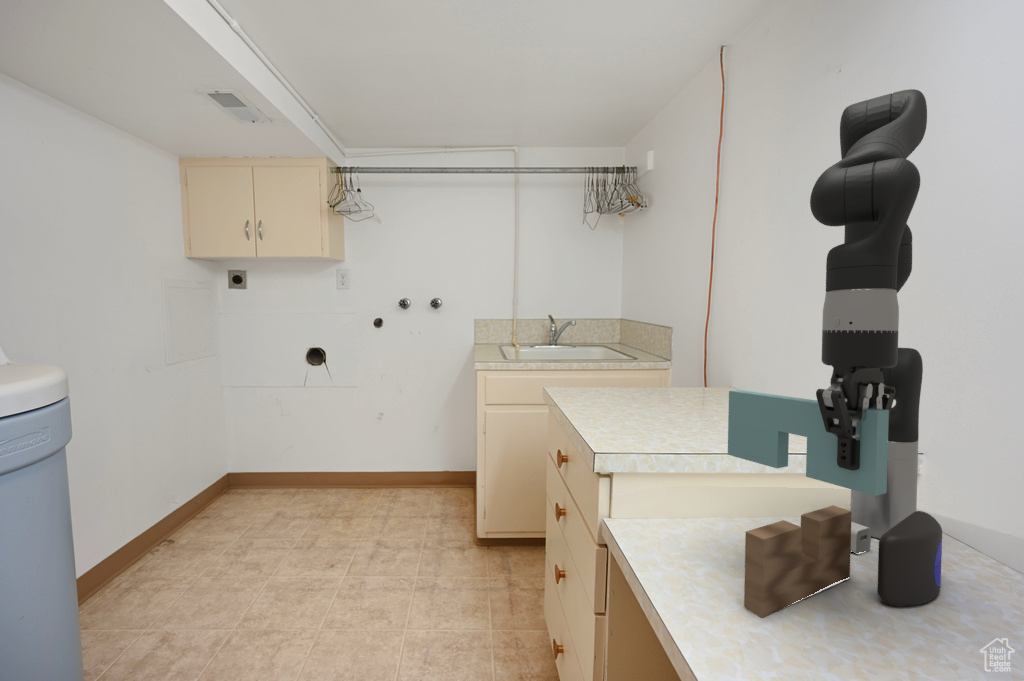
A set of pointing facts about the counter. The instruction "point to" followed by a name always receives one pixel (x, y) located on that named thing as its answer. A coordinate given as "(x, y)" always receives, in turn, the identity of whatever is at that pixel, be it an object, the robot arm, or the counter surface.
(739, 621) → the counter surface
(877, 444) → the teal plate
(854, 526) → the usb wall charger
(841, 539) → the brown flat u-shaped block
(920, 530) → the black rounded block
